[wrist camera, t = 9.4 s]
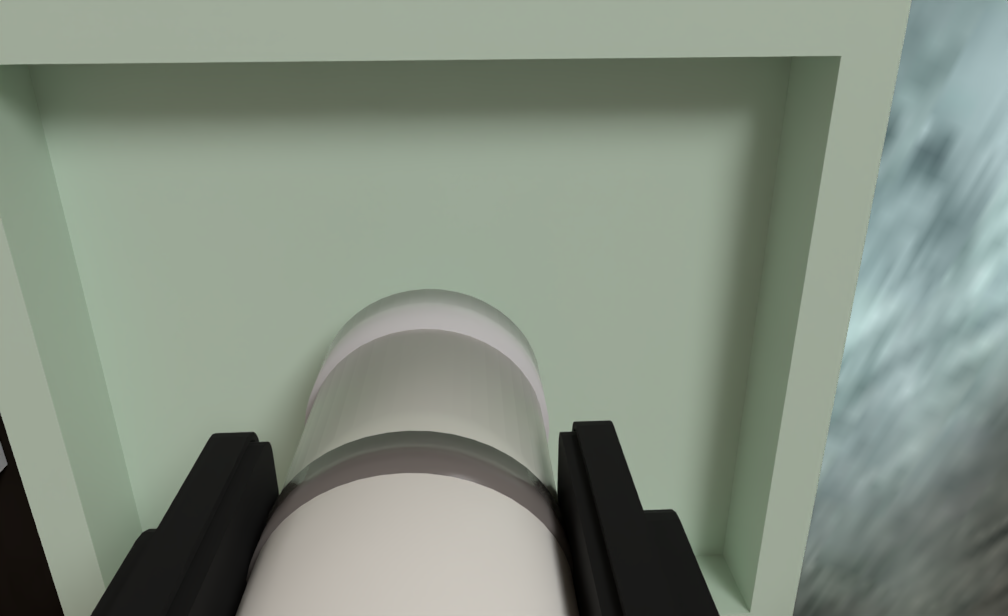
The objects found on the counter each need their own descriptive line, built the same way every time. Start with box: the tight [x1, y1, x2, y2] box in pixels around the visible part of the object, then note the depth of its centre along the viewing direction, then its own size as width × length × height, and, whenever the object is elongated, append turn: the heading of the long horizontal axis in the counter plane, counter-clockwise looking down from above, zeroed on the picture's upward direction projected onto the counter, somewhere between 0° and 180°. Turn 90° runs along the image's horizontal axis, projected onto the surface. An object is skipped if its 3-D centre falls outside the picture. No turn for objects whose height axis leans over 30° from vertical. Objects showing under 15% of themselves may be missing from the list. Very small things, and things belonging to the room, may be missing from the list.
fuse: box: [235, 289, 580, 616], centre depth 9 cm, size 4×4×10 cm
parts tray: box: [0, 0, 912, 616], centre depth 15 cm, size 16×14×2 cm
